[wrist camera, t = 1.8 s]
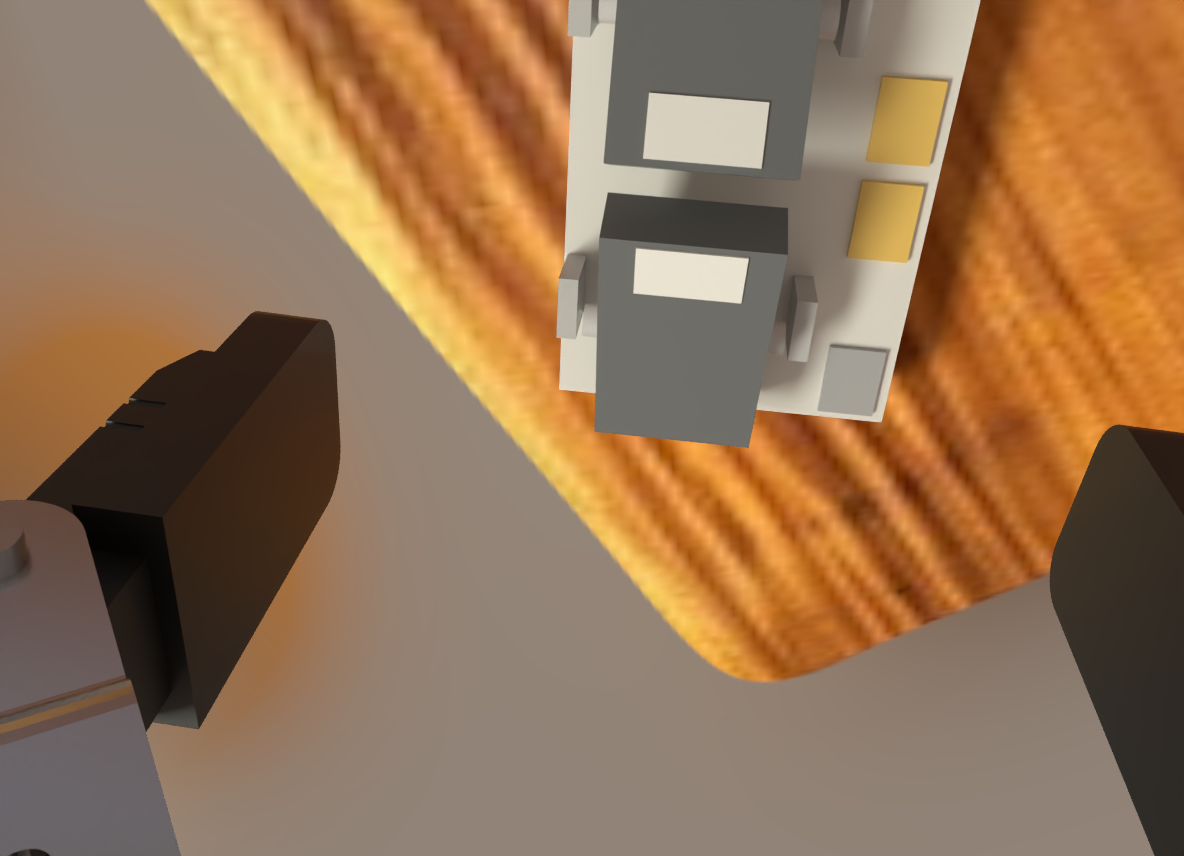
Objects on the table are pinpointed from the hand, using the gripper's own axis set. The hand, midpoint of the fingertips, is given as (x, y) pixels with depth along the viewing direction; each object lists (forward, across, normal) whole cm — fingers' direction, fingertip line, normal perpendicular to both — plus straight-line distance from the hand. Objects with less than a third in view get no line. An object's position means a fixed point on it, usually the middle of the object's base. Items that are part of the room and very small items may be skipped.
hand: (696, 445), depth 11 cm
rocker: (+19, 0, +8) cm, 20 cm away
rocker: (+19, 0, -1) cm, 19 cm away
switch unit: (+24, -2, +3) cm, 25 cm away
